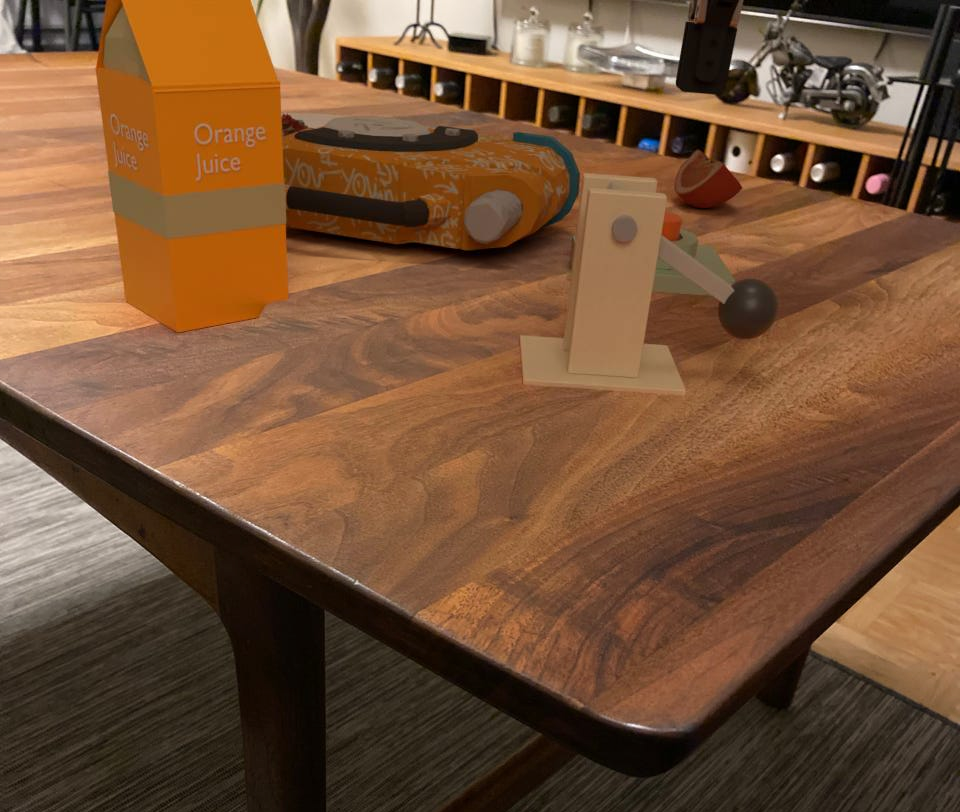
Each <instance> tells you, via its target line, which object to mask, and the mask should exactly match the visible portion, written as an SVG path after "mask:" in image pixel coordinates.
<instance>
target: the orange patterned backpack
mask: <svg viewBox="0 0 960 812" xmlns="http://www.w3.org/2000/svg"><path fill="white" fill-rule="evenodd" d="M347 116H348V117H340V118H333V119H332V120H330V121H329V122H328V123H327V124H326V125H325V126H322V127H319V128H316V129H311V128H307V129H304V130H301V131H298V132H295V133H292V134H290V135H287V136H284V137H282V145H283V171H284V183H285V201H286V228H292V229H300V230H304V231H305V230H306V231H311V232H312V231H313V232H318V233H323V234H329V235H335V236H336V235H337V236H343V237H349V238H356V239H362V240H367V241H375V242H380V243H385V244H394V245H402V244H409V243H419V244H424V245H431V246H436V247H443V248H450V249H457V250H458V249H460V250H462V251H475V250H486V249H497V248H507V247H508V246H510V245H511V244H513V243H515V242H517V241H519V240H522V239H523V238H527V237H528V236H530V235H533V234H535V233H536V232H537V231H538V230H543V229H544V228H547V227H549V226H551V225H553V224H556V223H559V222H560V221H562V220H563V219H564V218H565V217H566V216H567V215H568V214H569V213H570V212H571V211H572V208H573V207H574V204H575V202H576V201H577V199H578V196H580V195H579V194H580V180H581V172H580V170H579V167H578V164H577V162H576V160H575V157H574V155H573V153H572V152H571V151H570V150H569V149H568V148H567V147H566V146H564V145H563V144H562V143H561V142H560V141H559V140H558V139H556V138H555V137H554V136H551V135H544V134H536V133H528V132H521V131H513V132H512V133H513V134H512V136H508V135H502V134H494V133H492V134H491V133H486V132H485V133H484V132H477V131H476V130H474V129H468V128H460V127H452V126H445V125H438V126H436V127H435V128H429V127H428V126H425V125H423V124H421V123H419V122H416V121H414V120H408V119H402V118H394V117H387V116H377V115H376V116H375V115H373V116H369V115H347Z"/></svg>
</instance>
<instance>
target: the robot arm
mask: <svg viewBox="0 0 960 812" xmlns="http://www.w3.org/2000/svg"><path fill="white" fill-rule="evenodd" d="M743 4H744V0H689V4H688V10H687V21H685V23H684V29H683V36H682V42H681V48H680V54H679V60H678V64H677V65H678V66H677V71H676V76H675V77H676V78H675V86H676V88H678V89H679V90H680V91H681V92H682V93H692V94H701V95H702V94H703V95H714V96H721V95H724V93H725V92H726V90H727V85H728V79H729V74H730V69H731V65H732V58H733V54H734V48H735V44H736V38H737V34H738V25H739V22H740V17H741V12H742V9H743Z"/></svg>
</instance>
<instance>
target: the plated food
mask: <svg viewBox="0 0 960 812" xmlns="http://www.w3.org/2000/svg"><path fill="white" fill-rule="evenodd" d="M348 116H349V115H343V114H342V115H341V114H329V113H328V114H327V113H311V112H308V113H307V112H306V113H305V112H304V113H303V112H281V119H282V137H284V136H287V135H290V134H292V133H295V132H298V131H301V130H304V129H307V128H311V129H316V128H319V127H322V126H325V125H326V124H327V123H328V122H329V121H330V120H332V119H333V118H340V117H348Z"/></svg>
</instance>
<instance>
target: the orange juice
mask: <svg viewBox="0 0 960 812" xmlns="http://www.w3.org/2000/svg"><path fill="white" fill-rule="evenodd" d="M105 1H106V2H105V7H104V13H103V14H104V15H103V20H102V27H101V34H100V40H99V46H98V53H97V59H96V67H95V75H96V77H95V78H96V84H97V91H98V99H99V107H100V114H101V115H100V116H101V123H102V130H103V137H104V145H105V154H106V159H107V160H106V161H107V167H108V168H107V169H108V170H107V175H108V181H109V182H108V183H109V188H110V189H109V190H110V197H111V207H112V212H113V214H114V221H115V230H116V237H117V245H118V252H119V260H120V268H121V276H122V282H123V284H122V285H123V291H124V298H125V302H126V303H128V304H129V305H131V306H133V307H134V308H136V309H138V310H139V311H141V312H142V313H145V314H146V315H147V316H149V317H151V318H152V319H155V321H158V322H159V323H161V324H162V325H164V326H165V327H168V328H169V329H171V330H172V331H174V332H175V333H183V332H189V331H193V330H198V329H204V328H210V327H214V326H219V325H225V324H231V323H236V322H241V321H247V320H252V319H257V318H259V317H260V316H261V314H262V312H263V310H264V309H265V307H266V306H267V304H269V303H270V304H271V303H275V302H281V301H287V300H289V278H288V277H289V275H288V253H287V251H288V250H287V249H288V247H287V227H286V201H285V183H284V171H283V145H282V119H281V113H282V99H281V95H282V94H281V81H280V80H279V78H278V76H277V73H276V70H275V67H274V64H273V61H272V58H271V55H270V53H269V50H268V47H267V44H266V41H265V38H264V35H263V32H262V30H261V26H260V23H259V20H258V17H257V14H256V12H255V9H254V5H253V3H252V0H105Z"/></svg>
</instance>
